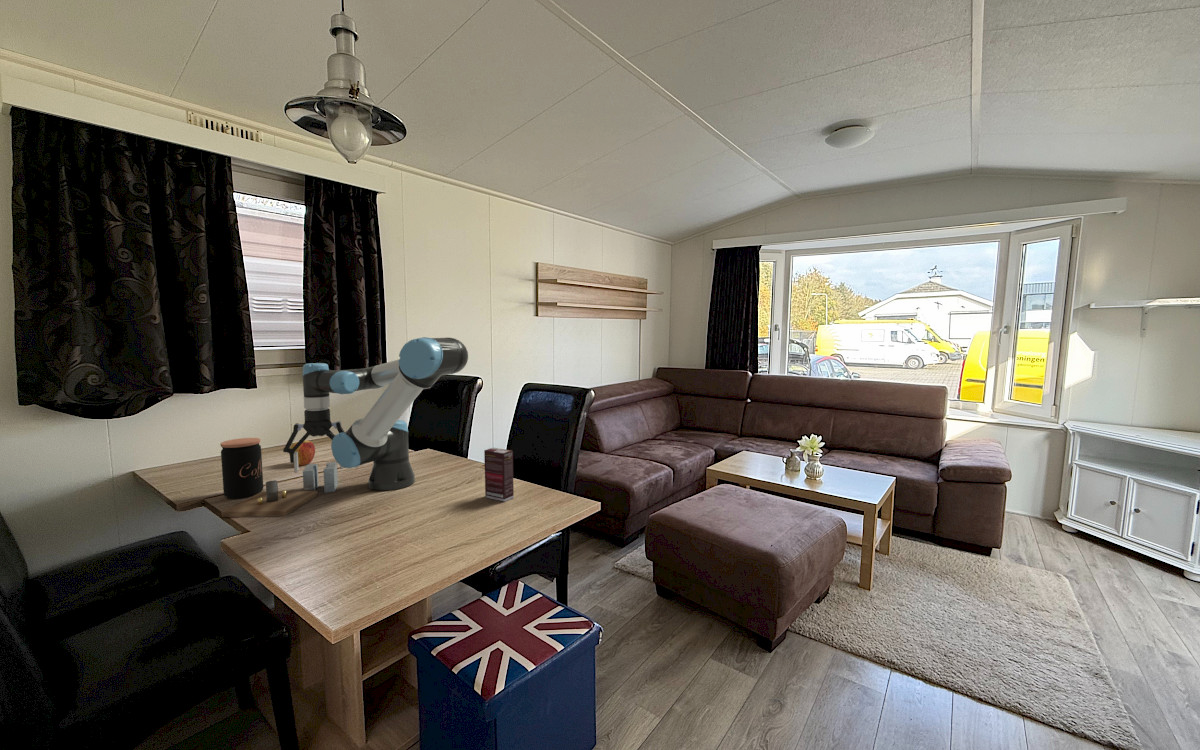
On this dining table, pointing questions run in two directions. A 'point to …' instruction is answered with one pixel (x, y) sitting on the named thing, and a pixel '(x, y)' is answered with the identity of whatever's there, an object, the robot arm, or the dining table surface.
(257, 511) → the post base
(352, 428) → the robot arm
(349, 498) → the dining table surface
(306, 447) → the apple
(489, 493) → the supplement box
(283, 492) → the dowel pins
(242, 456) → the coffee jar
